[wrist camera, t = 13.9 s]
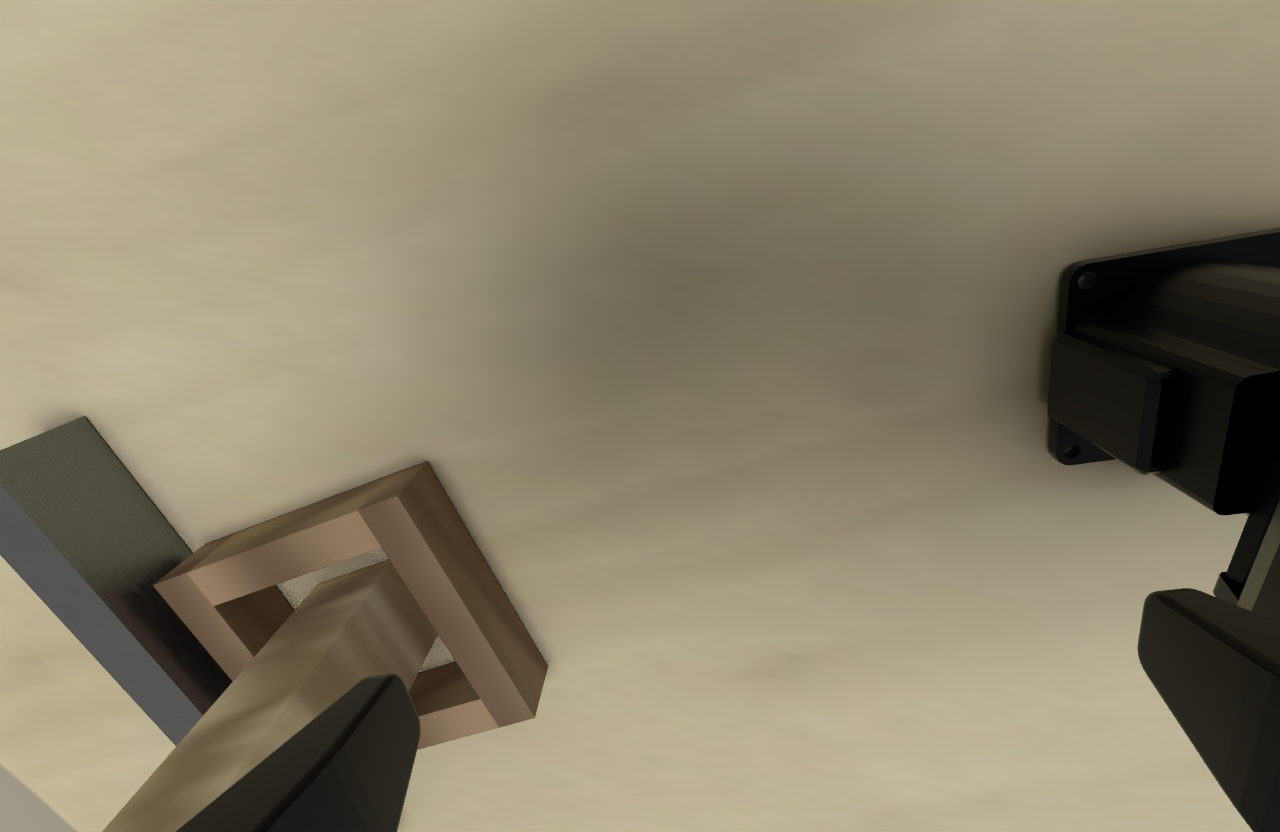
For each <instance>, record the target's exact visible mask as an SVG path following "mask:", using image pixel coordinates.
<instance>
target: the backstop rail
mask: <svg viewBox="0 0 1280 832" xmlns="http://www.w3.org/2000/svg"><path fill="white" fill-rule="evenodd" d="M0 555H1V556H2V557H3V558H4V559H5V560H6V562H7V563H8V564H9V565H10V566H11V567H12V568H13V569H14V570H15V571H16V572H17V573H18V575H19V576H20V577H21V578H22V579H23V580H24V581H25V582H26V583H27V584H28V585H29V587H30V588H31V589H32V590H33V591H34V592H35V593H36V594H37V595H38V596H39V597H40V599H41V600H42V601H43V602H44V603H45V604H46V605H47V606H48V607H49V608H50V609H51V611H52V612H53V613H54V614H55V615H56V616H57V617H58V618H59V619H60V620H61V621H62V623H63V624H64V625H65V626H66V627H67V628H68V629H69V630H70V631H71V632H72V633H73V634H74V636H75V637H76V638H77V639H78V640H79V641H80V642H81V643H82V644H83V645H84V646H85V648H86V649H87V650H88V651H89V652H90V653H91V654H92V655H93V656H94V657H95V658H96V660H97V661H98V662H99V663H100V664H101V665H102V666H103V667H104V668H105V669H106V670H107V672H108V673H109V674H110V675H111V676H112V677H113V678H114V679H115V680H116V681H117V682H118V684H119V685H120V686H121V687H122V688H123V689H124V690H125V691H126V692H127V693H128V694H129V695H130V697H131V698H132V699H133V700H134V701H135V702H136V703H137V704H138V705H139V706H140V707H141V709H142V710H143V711H144V712H145V713H146V714H147V715H148V716H149V717H150V718H151V719H152V721H153V722H154V723H155V724H156V725H157V726H158V727H159V728H160V729H161V730H162V731H163V733H164V734H165V735H166V736H167V737H168V738H169V739H170V740H171V741H172V742H173V743H174V744H175V746H177V745H178V744H179V743H180V742H181V741H182V739H183V738H184V737H185V736H186V735H187V734H188V733H189V731H190V730H191V729H192V728H193V727H194V726H195V725H196V723H197V722H198V721H199V720H200V719H201V718H202V717H203V715H204V714H205V713H206V712H207V711H208V710H209V709H210V707H211V706H212V705H213V704H214V703H215V702H216V700H217V699H218V698H219V697H220V696H221V695H222V694H223V692H224V691H225V690H226V689H227V688H228V687H229V686H230V684H231V683H232V682H233V681H232V680H231V679H230V678H229V676H228V675H227V674H226V673H225V672H224V670H223V669H222V668H221V667H220V666H219V664H218V663H217V662H216V661H215V660H214V658H213V657H212V656H211V655H210V654H209V652H208V651H207V650H206V649H205V648H204V646H203V645H202V644H201V643H200V642H199V640H198V639H197V638H196V637H195V636H194V634H193V633H192V632H191V631H190V629H189V628H188V627H187V626H186V625H185V623H184V622H183V621H182V620H181V619H180V617H179V616H178V615H177V614H176V613H175V611H174V610H173V609H172V608H171V607H170V605H169V604H168V603H167V602H166V601H165V599H164V598H163V597H162V596H161V595H160V593H159V592H158V591H157V590H156V589H155V587H154V586H153V585H154V584H155V583H156V582H158V581H159V580H160V579H161V578H163V577H164V576H165V575H166V574H168V573H169V572H170V571H172V570H173V569H174V568H175V567H177V566H178V565H179V564H180V563H182V562H183V561H184V560H186V559H187V558H188V557H189V556H191V555H192V553H191V551H190V550H189V549H188V547H187V546H186V545H185V544H184V542H183V541H182V540H181V539H180V537H179V536H178V535H177V533H176V532H175V531H174V530H173V528H172V527H171V526H170V525H169V523H168V522H167V521H166V519H165V518H164V517H163V516H162V514H161V513H160V512H159V511H158V509H157V508H156V507H155V505H154V504H153V503H152V502H151V500H150V499H149V498H148V497H147V495H146V494H145V493H144V491H143V490H142V489H141V488H140V486H139V485H138V484H137V483H136V481H135V480H134V479H133V477H132V476H131V475H130V474H129V472H128V471H127V470H126V469H125V467H124V466H123V465H122V463H121V462H120V461H119V460H118V458H117V457H116V456H115V455H114V453H113V452H112V451H111V449H110V448H109V447H108V446H107V444H106V443H105V442H104V441H103V439H102V438H101V437H100V435H99V434H98V433H97V432H96V430H95V429H94V428H93V427H92V425H91V424H90V423H89V421H88V420H87V419H86V418H85V416H84V417H81V418H79V419H76V420H74V421H71V422H69V423H67V424H64V425H62V426H59V427H57V428H54V429H52V430H49V431H47V432H44V433H42V434H39V435H37V436H35V437H32V438H30V439H27V440H25V441H22V442H20V443H17V444H15V445H12V446H10V447H7V448H5V449H3V450H0Z"/></svg>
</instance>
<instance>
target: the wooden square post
mask: <svg viewBox="0 0 1280 832" xmlns="http://www.w3.org/2000/svg"><path fill="white" fill-rule="evenodd" d="M437 635H438V633H437V631H436V630H435V628H434V627H433V625H432V624H431V622H430V621H429V619H428V618H427V616H426V615H425V613H424V612H423V610H422V609H421V607H420V605H419V604H418V602H417V601H416V599H415V598H414V596H413V595H412V593H411V592H410V590H409V589H408V587H407V586H406V584H405V582H404V581H403V579H402V578H401V576H400V575H399V573H398V572H397V570H396V569H395V567H394V566H393V564H392V563H391V561H390V560H387V561H384V562H381V563H378V564H375V565H372V566H369V567H366V568H364V569H361V570H358V571H355V572H352V573H349V574H346V575H343V576H341V577H338V578H335V579H332V580H329V581H326V582H323V583H320V584H318V585H317V586H316V587H315V588H314V589H313V590H312V591H311V593H310V594H309V595H308V596H307V597H306V598H305V599H304V601H303V602H302V603H301V604H300V605H299V606H298V608H297V609H296V610H295V611H294V612H293V613H292V614H291V616H290V617H289V618H288V619H287V620H286V621H285V622H284V624H283V625H282V626H281V627H280V628H279V629H278V630H277V632H276V633H275V634H274V635H273V636H272V637H271V638H270V640H269V641H268V642H267V643H266V644H265V645H264V647H263V648H262V649H261V650H260V651H259V652H258V653H257V655H256V656H255V657H254V658H253V659H252V660H251V661H250V663H249V664H248V665H247V666H246V667H245V668H244V669H243V671H242V672H241V673H240V674H239V675H238V676H237V678H236V679H235V680H234V681H233V682H232V683H231V684H230V686H229V687H228V688H227V689H226V690H225V691H224V692H223V694H222V695H221V696H220V697H219V698H218V699H217V700H216V702H215V703H214V704H213V705H212V706H211V707H210V709H209V710H208V711H207V712H206V713H205V714H204V715H203V717H202V718H201V719H200V720H199V721H198V722H197V723H196V725H195V726H194V727H193V728H192V729H191V730H190V731H189V733H188V734H187V735H186V736H185V737H184V738H183V739H182V741H181V742H180V743H179V744H178V745H177V746H176V748H175V749H174V750H173V751H172V752H171V753H170V754H169V756H168V757H167V758H166V759H165V760H164V761H163V762H162V764H161V765H160V766H159V767H158V768H157V769H156V770H155V772H154V773H153V774H152V775H151V776H150V777H149V779H148V780H147V781H146V782H145V783H144V784H143V785H142V787H141V788H140V789H139V790H138V791H137V792H136V793H135V795H134V796H133V797H132V798H131V799H130V800H129V801H128V803H127V804H126V805H125V806H124V807H123V808H122V810H121V811H120V812H119V813H118V814H117V815H116V816H115V818H114V819H113V820H112V821H111V822H110V823H109V824H108V826H107V827H106V828H105V829H104V830H103V831H102V832H175V831H177V830H178V829H179V828H180V827H182V826H183V825H184V824H185V823H187V822H188V821H189V820H190V819H191V818H193V817H194V816H195V815H196V814H198V813H199V812H200V811H201V810H202V809H204V808H205V807H206V806H207V805H209V804H210V803H211V802H212V801H214V800H215V799H216V798H217V797H218V796H220V795H221V794H222V793H223V792H225V791H226V790H227V789H228V788H230V787H231V786H232V785H233V784H234V783H236V782H237V781H238V780H239V779H241V778H242V777H243V776H244V775H245V774H247V773H248V772H249V771H250V770H252V769H253V768H254V767H255V766H257V765H258V764H259V763H260V762H261V761H263V760H264V759H265V758H266V757H268V756H269V755H270V754H271V753H273V752H274V751H275V750H276V749H277V748H279V747H280V746H281V745H282V744H284V743H285V742H286V741H287V740H288V739H290V738H291V737H292V736H293V735H295V734H296V733H297V732H298V731H300V730H301V729H302V728H303V727H304V726H306V725H307V724H308V723H309V722H311V721H312V720H313V719H314V718H316V717H317V716H318V715H319V714H320V713H322V712H323V711H324V710H325V709H327V708H328V707H329V706H330V705H331V704H333V703H334V702H335V701H336V700H338V699H339V698H340V697H341V696H343V695H344V694H345V693H346V692H347V691H349V690H350V689H351V688H352V687H354V686H355V685H356V684H357V683H358V682H360V681H361V680H362V679H364V678H366V677H369V676H373V675H382V674H397V675H399V676H400V677H401V678H402V679H403V681H404V683H405V686H406V688H407V690H408V691H409V690H410V688H411V686H412V684H413V682H414V680H415V678H416V676H417V674H418V672H419V670H420V668H421V666H422V664H423V662H424V660H425V658H426V656H427V654H428V653H429V651H430V649H431V647H432V645H433V643H434V641H435V639H436V637H437Z"/></svg>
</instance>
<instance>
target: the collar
mask: <svg viewBox="0 0 1280 832" xmlns="http://www.w3.org/2000/svg"><path fill="white" fill-rule="evenodd" d="M379 548H382V549H383V550H384V552H385V553H386V555H387V556H388V558H389V560H390V561H391V563H392V564H393V566H394V567H395V569H396V570H397V572H398V573H399V575H400V576H401V578H402V579H403V581H404V582H405V584H406V586H407V587H408V589H409V590H410V592H411V593H412V595H413V596H414V598H415V599H416V601H417V602H418V604H419V605H420V607H421V609H422V610H423V612H424V613H425V615H426V616H427V618H428V619H429V621H430V622H431V624H432V625H433V627H434V628H435V630H436V631H437V633H438V635H439V636H440V638H441V639H442V641H443V642H444V644H445V645H446V647H447V648H448V650H449V651H450V653H451V654H452V656H453V658H454V659H455V661H456V662H455V663H451V664H448V665H445V666H441V667H438V668H435V669H431V670H428V671H424V672H421V673H418V674H417V676H416V678H415V680H414V682H413V684H412V686H411V688H410V690H409V691H408V693H409V695H410V698H411V700H412V702H413V705H414V707H415V709H416V712H417V714H418V716H419V720H420V729H421V732H420V740H419V744H418V748H417V750H418V749H422V748H425V747H429V746H433V745H437V744H440V743H444V742H448V741H451V740H455V739H459V738H462V737H466V736H470V735H473V734H477V733H481V732H484V731H488V730H492V729H496V728H499V727H503V726H507V725H510V724H514V723H518V722H521V721H525V720H529V719H532V718H535V715H536V711H537V707H538V703H539V699H540V696H541V692H542V688H543V684H544V680H545V676H546V672H547V668H548V666H547V664H546V663H545V661H544V659H543V658H542V656H541V654H540V652H539V651H538V649H537V647H536V646H535V644H534V642H533V641H532V639H531V637H530V635H529V634H528V632H527V630H526V629H525V627H524V625H523V624H522V622H521V620H520V618H519V617H518V615H517V613H516V612H515V610H514V608H513V607H512V605H511V603H510V601H509V600H508V598H507V596H506V595H505V593H504V591H503V589H502V588H501V586H500V584H499V583H498V581H497V579H496V578H495V576H494V574H493V572H492V571H491V569H490V567H489V566H488V564H487V562H486V561H485V559H484V557H483V555H482V554H481V552H480V550H479V549H478V547H477V545H476V544H475V542H474V540H473V538H472V537H471V535H470V533H469V532H468V530H467V528H466V526H465V525H464V523H463V521H462V520H461V518H460V516H459V515H458V513H457V511H456V509H455V508H454V506H453V504H452V503H451V501H450V499H449V498H448V496H447V494H446V492H445V491H444V489H443V487H442V486H441V484H440V482H439V481H438V479H437V477H436V475H435V474H434V472H433V470H432V469H431V467H430V465H429V463H428V462H427V461H426V462H424V463H421V464H418V465H416V466H413V467H410V468H408V469H405V470H402V471H400V472H397V473H394V474H392V475H389V476H386V477H384V478H381V479H378V480H376V481H373V482H370V483H368V484H365V485H362V486H360V487H357V488H354V489H352V490H349V491H346V492H344V493H341V494H338V495H336V496H333V497H330V498H328V499H325V500H322V501H319V502H317V503H314V504H311V505H309V506H306V507H303V508H301V509H298V510H295V511H293V512H290V513H287V514H285V515H282V516H279V517H277V518H274V519H271V520H269V521H266V522H263V523H261V524H258V525H255V526H253V527H250V528H247V529H245V530H242V531H239V532H237V533H234V534H231V535H229V536H226V537H223V538H221V539H218V540H215V541H212V542H210V543H207V544H205V545H203V546H202V547H201V548H200V549H198V550H197V551H196V552H195V553H193V554H192V555H191V556H189V557H188V558H187V559H186V560H184V561H183V562H182V563H180V564H179V565H178V566H177V567H175V568H174V569H173V570H172V571H170V572H169V573H168V574H166V575H165V576H164V577H163V578H161V579H160V580H159V581H158V582H156V583H155V584H154V585H153V586H154V587H155V589H156V590H157V591H158V592H159V593H160V595H161V596H162V597H163V598H164V599H165V601H166V602H167V603H168V604H169V605H170V607H171V608H172V609H173V610H174V611H175V613H176V614H177V615H178V616H179V617H180V619H181V620H182V621H183V622H184V623H185V625H186V626H187V627H188V628H189V629H190V631H191V632H192V633H193V634H194V636H195V637H196V638H197V639H198V640H199V642H200V643H201V644H202V645H203V646H204V648H205V649H206V650H207V651H208V652H209V654H210V655H211V656H212V657H213V658H214V660H215V661H216V662H217V663H218V664H219V666H220V667H221V668H222V669H223V670H224V672H225V673H226V674H227V675H228V676H229V678H230V679H231V680H232V681H234V680H235V679H236V678H237V676H238V675H239V674H240V673H241V672H242V671H243V669H244V668H245V667H246V666H247V665H248V664H249V663H250V661H251V660H252V659H253V658H254V657H255V656H256V655H257V653H258V652H259V651H260V650H261V649H262V648H263V647H264V645H265V644H266V643H267V642H268V641H269V640H270V638H271V637H272V636H273V635H274V634H275V633H276V632H277V630H278V629H279V628H280V627H281V626H282V625H283V624H284V622H285V621H286V620H287V619H288V618H289V617H290V616H291V614H292V613H293V612H294V610H293V609H292V607H291V606H290V605H289V603H288V602H287V601H286V599H285V598H284V596H283V595H282V594H281V592H280V591H279V590H278V588H277V587H276V586H275V585H276V584H279V583H282V582H284V581H287V580H290V579H293V578H296V577H299V576H302V575H305V574H307V573H310V572H313V571H316V570H319V569H322V568H325V567H327V566H330V565H333V564H336V563H339V562H342V561H345V560H348V559H350V558H353V557H356V556H359V555H362V554H365V553H368V552H370V551H373V550H376V549H379Z"/></svg>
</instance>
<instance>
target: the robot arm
mask: <svg viewBox="0 0 1280 832" xmlns="http://www.w3.org/2000/svg"><path fill="white" fill-rule="evenodd" d="M1086 272H1087V274H1088V279H1087V282H1086V283H1085V284H1084V285H1082V286H1080V287H1079V285H1078V281H1079V278H1080V277H1081V276H1082V275H1083V274H1084V273H1086ZM1047 412H1048V414H1049V415H1050V416H1051V424H1050V438H1049V453H1050V454H1051V456H1052V457H1053V458H1054V459H1056V460H1057V461H1059V462H1060V463H1062V464H1064V465H1076V464H1084V463H1091V462H1099V461H1107V460H1115V459H1118V460H1119V461H1121V462H1122V463H1124V464H1126V465H1127V466H1129V467H1130V468H1132V469H1134V470H1135V471H1137V472H1138V473H1140V474H1143V475H1146V474H1154V475H1155V476H1157V477H1159V478H1160V479H1162V480H1163V481H1165V482H1167V483H1168V484H1170V485H1171V486H1173V487H1175V488H1176V489H1178V490H1180V491H1181V492H1183V493H1184V494H1186V495H1188V496H1189V497H1191V498H1192V499H1194V500H1196V501H1197V502H1199V503H1201V504H1202V505H1204V506H1205V507H1207V508H1209V509H1210V510H1212V511H1213V512H1215V513H1217V514H1218V515H1231V514H1240V513H1245V514H1246V515H1248V519H1247V521H1246V524H1245V526H1244V529H1243V531H1242V534H1241V537H1240V539H1239V542H1238V544H1237V547H1236V549H1235V552H1234V555H1233V557H1232V560H1231V562H1230V565H1229V567H1228V570H1227V572H1221V573H1220V575H1219V577H1218V580H1217V582H1216V585H1215V588H1214V590H1213V593H1214V595H1215V596H1216V597H1214V596H1211V595H1209V594H1206V593H1204V592H1201V591H1198V590H1195V589H1188V588H1183V589H1174V590H1164V591H1156V592H1153V593H1151V594H1149V595H1148V596H1147V598H1146V599H1145V602H1144V607H1143V614H1142V620H1141V627H1140V634H1139V640H1138V656H1139V659H1140V662H1141V665H1142V667H1143V669H1144V671H1145V672H1146V674H1147V676H1148V677H1149V679H1150V680H1151V682H1152V683H1153V685H1154V686H1155V688H1156V689H1157V691H1158V692H1159V694H1160V695H1161V697H1162V698H1163V700H1164V701H1165V703H1166V704H1167V706H1168V708H1169V709H1170V711H1171V712H1172V714H1173V715H1174V717H1175V718H1176V720H1177V721H1178V723H1179V724H1180V726H1181V727H1182V729H1183V730H1184V732H1185V733H1186V735H1187V736H1188V738H1189V739H1190V741H1191V742H1192V744H1193V745H1194V747H1195V748H1196V750H1197V752H1198V753H1199V755H1200V756H1201V758H1202V759H1203V761H1204V762H1205V764H1206V765H1207V767H1208V768H1209V770H1210V771H1211V773H1212V774H1213V776H1214V777H1215V779H1216V780H1217V782H1218V783H1219V785H1220V786H1221V788H1222V789H1223V791H1224V792H1225V794H1226V795H1227V796H1228V798H1229V799H1230V801H1231V802H1232V804H1233V805H1234V806H1235V808H1236V809H1237V811H1238V812H1239V813H1240V815H1241V816H1242V817H1243V819H1244V820H1245V821H1246V823H1247V824H1248V825H1249V827H1250V828H1251V829H1252V830H1253V832H1280V228H1279V229H1273V230H1267V231H1261V232H1255V233H1249V234H1243V235H1237V236H1231V237H1225V238H1219V239H1213V240H1207V241H1200V242H1194V243H1188V244H1182V245H1176V246H1170V247H1164V248H1158V249H1152V250H1146V251H1140V252H1134V253H1128V254H1122V255H1116V256H1110V257H1104V258H1098V259H1092V260H1086V261H1080V262H1077V263H1074V264H1072V265H1071V266H1070V267H1068V268H1067V269H1066V271H1065V272H1064V274H1063V275H1062V279H1061V286H1060V299H1059V313H1058V327H1057V335H1056V337H1055V338H1054V340H1053V341H1052V351H1051V366H1050V380H1049V394H1048V409H1047ZM1072 444H1073V447H1072V449H1071V450H1070V451H1069V452H1066V453H1064V451H1065V449H1066V448H1067V447H1068V446H1069V445H1072ZM420 732H421V729H420V720H419V716H418V714H417V712H416V709H415V707H414V705H413V702H412V700H411V698H410V695H409V693H408V690H407V688H406V686H405V683H404V681H403V679H402V678H401V677H400V676H399V675H397V674H382V675H373V676H369V677H366V678H364V679H362V680H361V681H360V682H358V683H357V684H356V685H355V686H354V687H352V688H351V689H350V690H349V691H347V692H346V693H345V694H344V695H343V696H341V697H340V698H339V699H338V700H336V701H335V702H334V703H333V704H331V705H330V706H329V707H328V708H327V709H325V710H324V711H323V712H322V713H320V714H319V715H318V716H317V717H316V718H314V719H313V720H312V721H311V722H309V723H308V724H307V725H306V726H304V727H303V728H302V729H301V730H300V731H298V732H297V733H296V734H295V735H293V736H292V737H291V738H290V739H288V740H287V741H286V742H285V743H284V744H282V745H281V746H280V747H279V748H277V749H276V750H275V751H274V752H273V753H271V754H270V755H269V756H268V757H266V758H265V759H264V760H263V761H261V762H260V763H259V764H258V765H257V766H255V767H254V768H253V769H252V770H250V771H249V772H248V773H247V774H245V775H244V776H243V777H242V778H241V779H239V780H238V781H237V782H236V783H234V784H233V785H232V786H231V787H230V788H228V789H227V790H226V791H225V792H223V793H222V794H221V795H220V796H218V797H217V798H216V799H215V800H214V801H212V802H211V803H210V804H209V805H207V806H206V807H205V808H204V809H202V810H201V811H200V812H199V813H198V814H196V815H195V816H194V817H193V818H191V819H190V820H189V821H188V822H187V823H185V824H184V825H183V826H182V827H180V828H179V829H178V830H177V831H175V832H397V830H398V826H399V821H400V817H401V813H402V809H403V805H404V801H405V797H406V793H407V789H408V785H409V781H410V777H411V773H412V769H413V764H414V760H415V756H416V752H417V748H418V744H419V740H420Z"/></svg>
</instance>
